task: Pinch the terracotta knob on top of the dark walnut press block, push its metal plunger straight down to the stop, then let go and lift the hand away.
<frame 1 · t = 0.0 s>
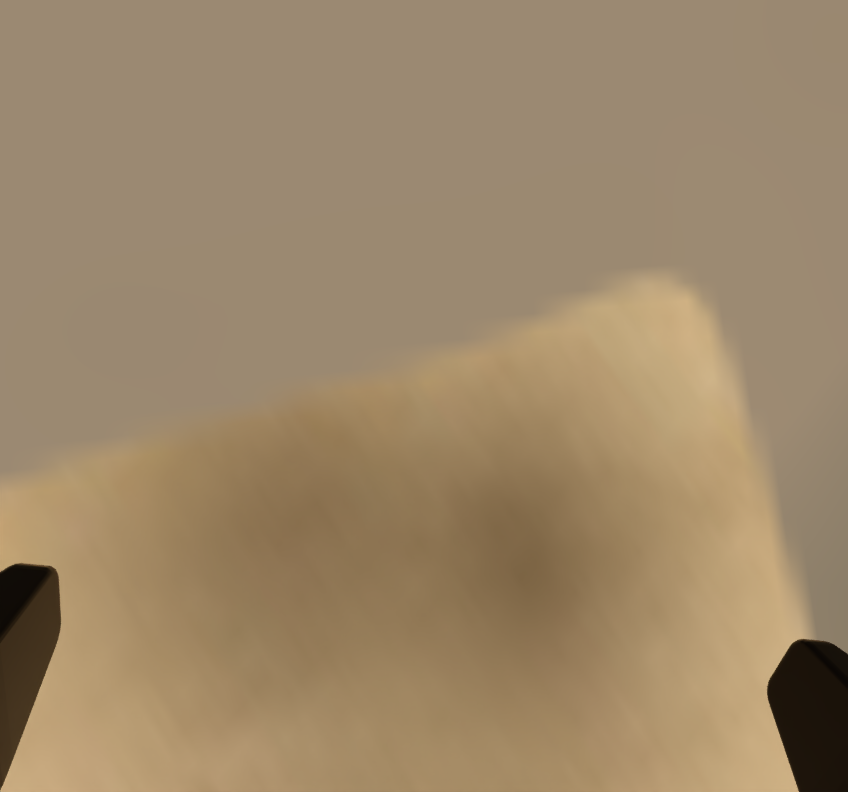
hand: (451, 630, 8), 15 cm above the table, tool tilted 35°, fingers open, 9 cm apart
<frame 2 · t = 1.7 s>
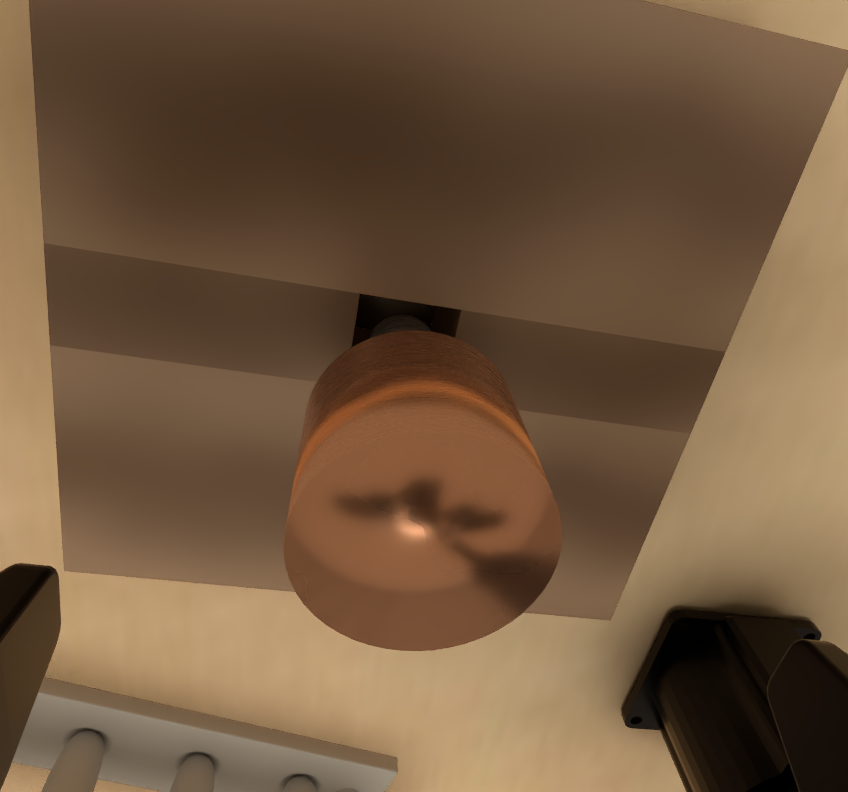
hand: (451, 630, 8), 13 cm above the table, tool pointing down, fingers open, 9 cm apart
test tube rack: (96, 719, 27), on the table
press housing: (396, 294, 20), on the table
plunger: (410, 422, 13), point 8 cm above the table, slide at 0.0 cm
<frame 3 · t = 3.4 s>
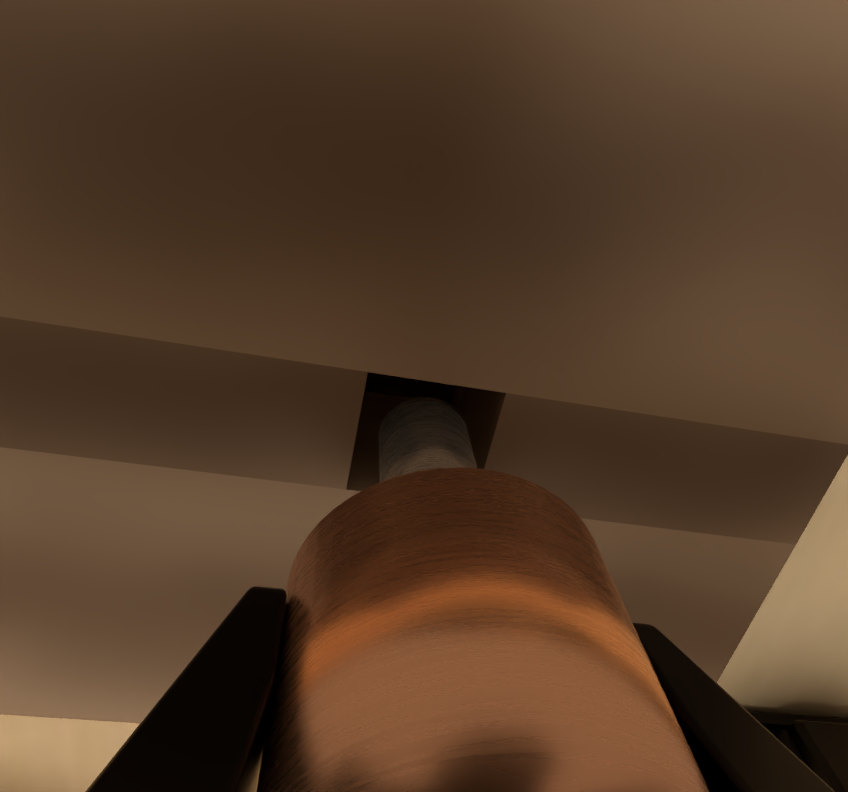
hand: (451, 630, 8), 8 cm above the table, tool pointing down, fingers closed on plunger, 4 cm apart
press housing: (410, 351, 15), on the table
plunger: (444, 585, 9), point 8 cm above the table, slide at 0.0 cm, touching gripper
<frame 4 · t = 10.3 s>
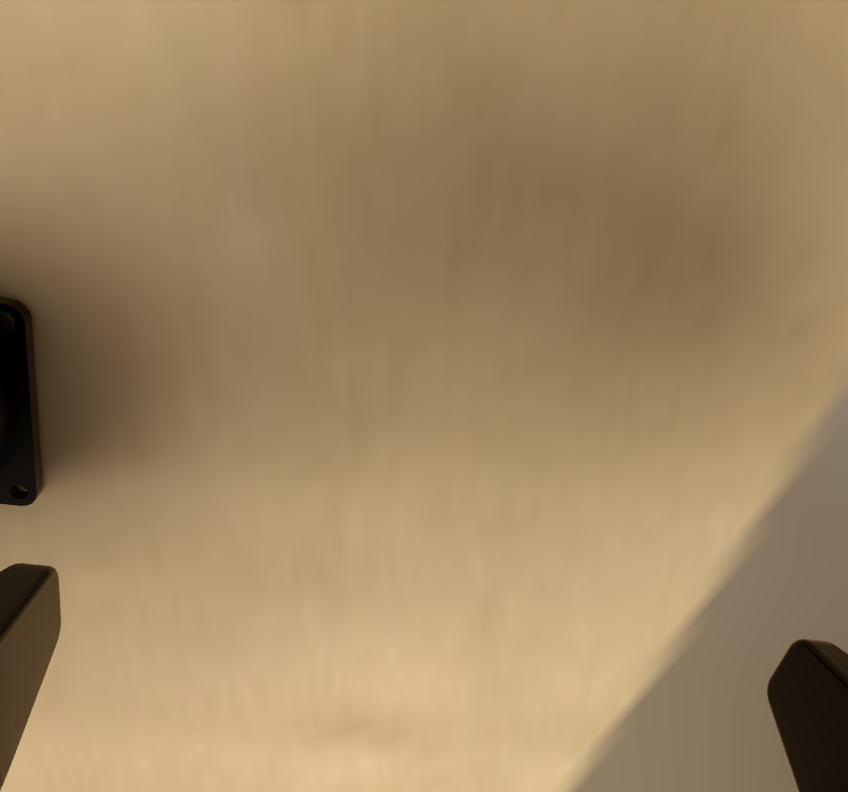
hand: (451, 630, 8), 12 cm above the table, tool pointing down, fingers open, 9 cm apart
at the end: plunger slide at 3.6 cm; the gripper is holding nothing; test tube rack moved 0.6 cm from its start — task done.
